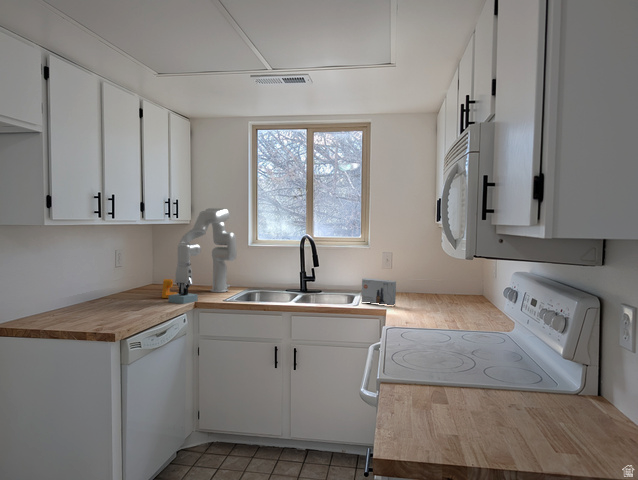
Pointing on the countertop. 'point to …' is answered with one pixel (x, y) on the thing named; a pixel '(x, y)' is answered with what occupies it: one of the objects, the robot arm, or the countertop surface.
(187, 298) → the socket block
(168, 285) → the bracket
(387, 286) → the skincare box
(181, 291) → the peg
